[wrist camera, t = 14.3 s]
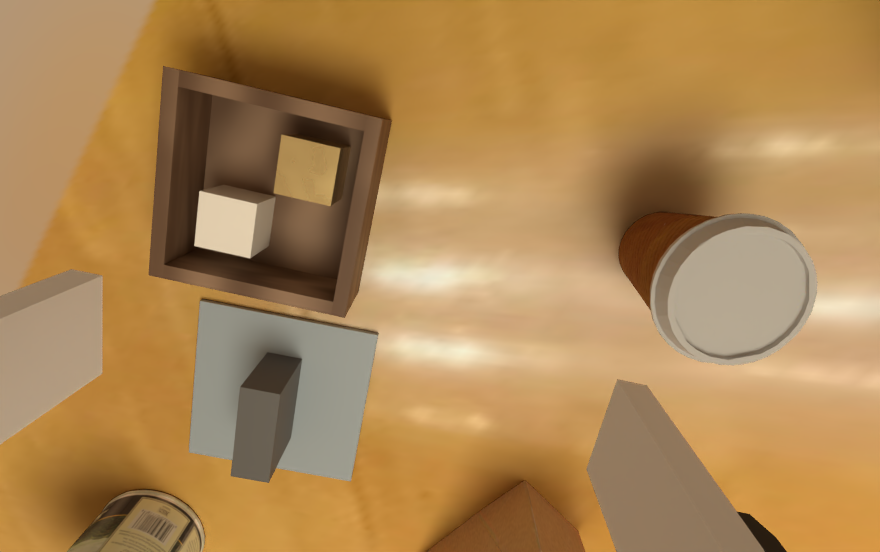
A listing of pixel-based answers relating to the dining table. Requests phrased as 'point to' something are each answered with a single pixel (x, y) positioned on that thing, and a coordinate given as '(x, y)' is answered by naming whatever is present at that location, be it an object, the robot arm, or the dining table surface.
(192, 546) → the coffee can
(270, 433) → the lid
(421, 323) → the dining table surface
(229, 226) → the off-white block
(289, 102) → the box
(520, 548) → the sandwich container
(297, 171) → the brass block
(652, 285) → the disposable coffee cup
